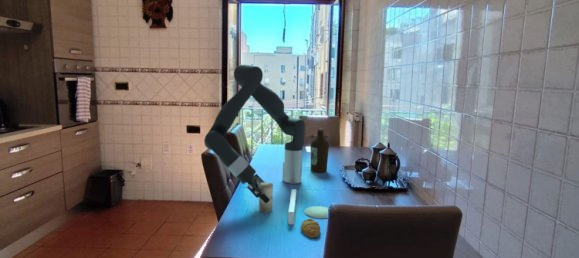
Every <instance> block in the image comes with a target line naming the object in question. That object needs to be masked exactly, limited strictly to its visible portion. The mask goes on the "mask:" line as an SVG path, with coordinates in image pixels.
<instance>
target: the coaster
mask: <svg viewBox="0 0 579 258" xmlns="http://www.w3.org/2000/svg"><path fill="white" fill-rule="evenodd" d="M328 208H329V207H326V206H321V205H319V206H318V205H317V206H314V205H313V206H309V207H307V208H305V209H304V214H305V215H306V216H308V217H310V218H313V219H321V220H322V219H328V218H327V214H328Z"/></svg>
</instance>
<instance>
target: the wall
mask: <svg viewBox="0 0 579 258" xmlns="http://www.w3.org/2000/svg"><path fill="white" fill-rule="evenodd" d="M289 201H290V202H289V205H288V217H287V219H288V221H287V222H288V223H287V224H288V225H294V223H295V222H294V221H295V212H296V203H297V189H293V188H291V192H290V199H289Z"/></svg>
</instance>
